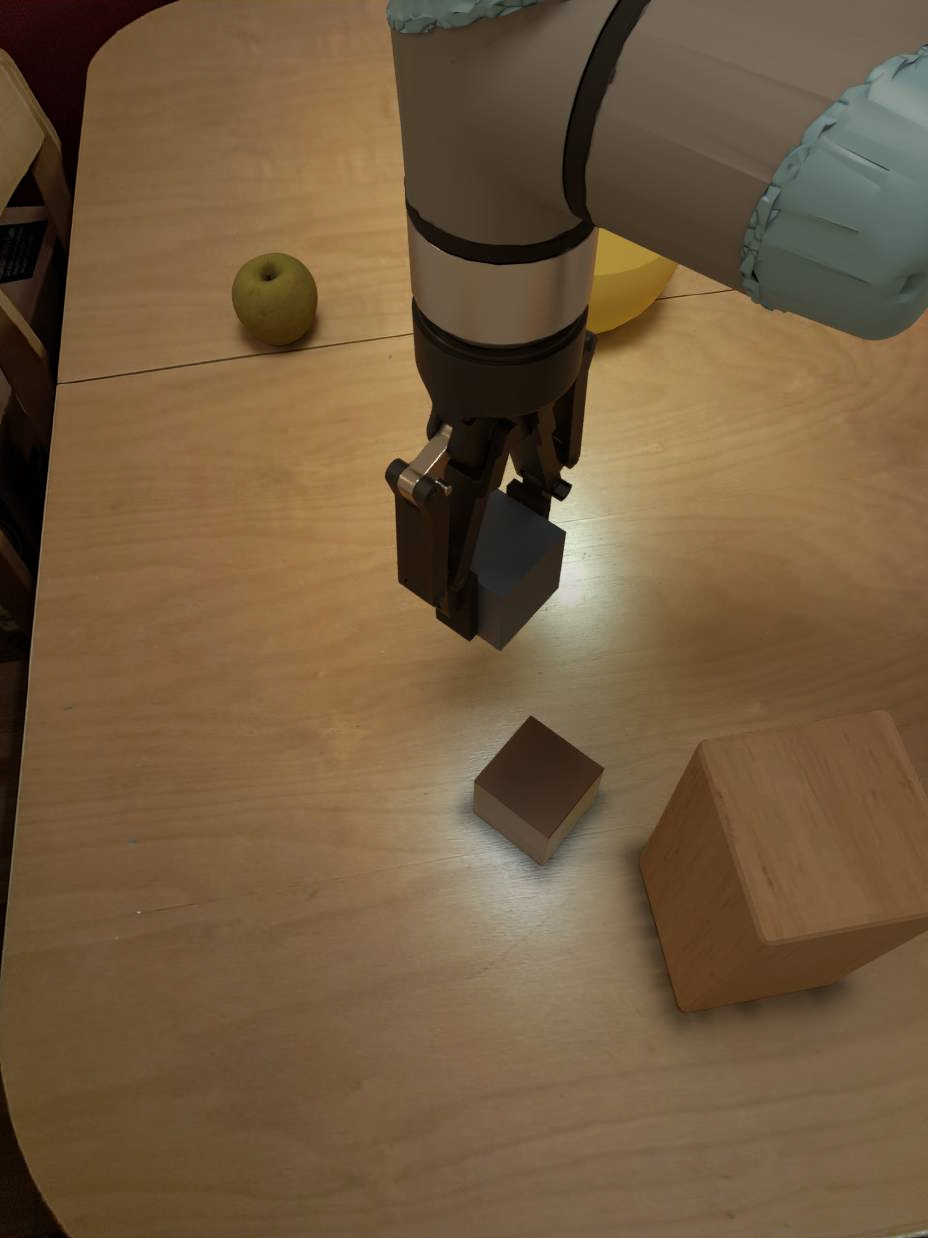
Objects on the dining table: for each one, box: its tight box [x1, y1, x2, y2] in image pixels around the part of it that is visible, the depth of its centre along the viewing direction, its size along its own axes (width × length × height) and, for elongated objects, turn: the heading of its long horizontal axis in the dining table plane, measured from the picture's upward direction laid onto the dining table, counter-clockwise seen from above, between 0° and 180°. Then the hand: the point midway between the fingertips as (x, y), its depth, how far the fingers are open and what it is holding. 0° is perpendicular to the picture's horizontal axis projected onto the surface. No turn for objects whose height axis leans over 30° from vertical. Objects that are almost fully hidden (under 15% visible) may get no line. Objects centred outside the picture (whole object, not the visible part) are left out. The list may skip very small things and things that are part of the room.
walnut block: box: [473, 714, 605, 867], centre depth 62 cm, size 6×6×6 cm
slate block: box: [470, 488, 567, 652], centre depth 57 cm, size 6×6×6 cm
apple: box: [231, 252, 319, 346], centre depth 86 cm, size 8×8×7 cm
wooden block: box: [638, 709, 928, 1013], centre depth 52 cm, size 10×10×20 cm
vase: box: [586, 228, 680, 335], centre depth 83 cm, size 18×18×19 cm
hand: (490, 590), depth 59 cm, fingers closed on slate block, 6 cm apart
